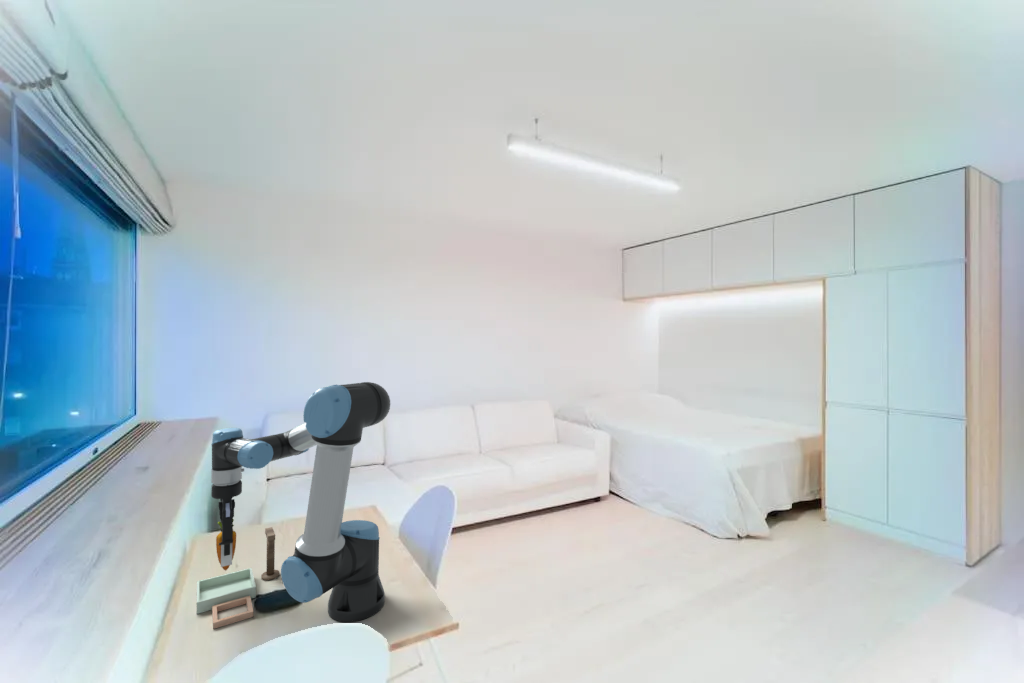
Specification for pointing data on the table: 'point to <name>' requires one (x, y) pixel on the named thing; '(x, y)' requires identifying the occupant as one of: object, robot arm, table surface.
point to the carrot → (219, 540)
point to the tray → (225, 589)
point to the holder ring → (232, 618)
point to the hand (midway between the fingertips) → (226, 560)
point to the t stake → (270, 556)
